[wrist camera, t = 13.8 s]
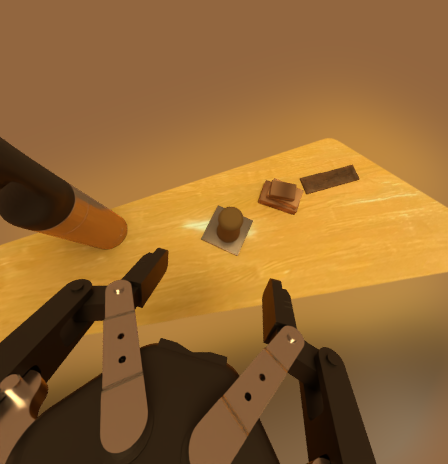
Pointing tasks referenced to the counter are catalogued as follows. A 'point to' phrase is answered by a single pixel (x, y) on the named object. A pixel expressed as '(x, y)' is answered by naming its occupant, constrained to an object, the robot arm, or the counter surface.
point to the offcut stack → (281, 196)
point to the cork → (229, 224)
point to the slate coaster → (213, 239)
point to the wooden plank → (329, 179)
